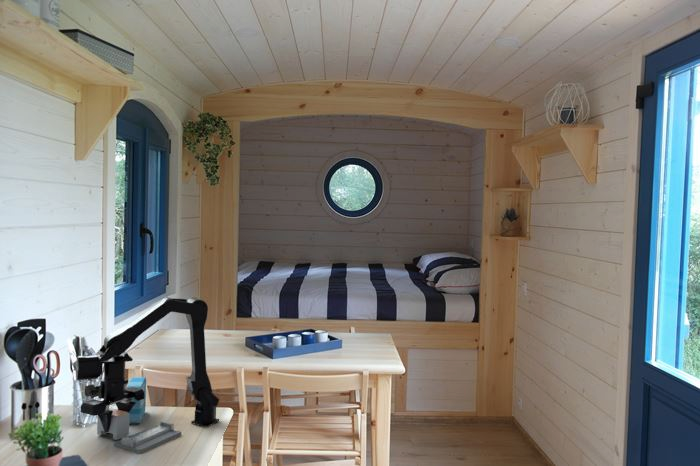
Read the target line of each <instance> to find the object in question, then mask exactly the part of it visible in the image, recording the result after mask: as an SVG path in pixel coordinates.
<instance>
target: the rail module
mask: <svg viewBox="0 0 700 466" xmlns="http://www.w3.org/2000/svg"><path fill="white" fill-rule="evenodd" d="M109 410H111V411H113V413H112V418H111V423H110V428H109V431H108V432H105V431H104V429H103V426H102V423H101V421H100V418H99V417H98V416H97V422H96V423H97V424H96V425H97V426H96V435H97V436H103V435H105V434H108V433H109V434H112V439H113V440H115V441H119V440H121V439H122V437H124V436H126V437H129V434H130V424H129V415H130V413H128V412H125V411H121V410H118V408H114V407H109Z"/></svg>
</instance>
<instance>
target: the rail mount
mask: <svg viewBox="0 0 700 466" xmlns="http://www.w3.org/2000/svg"><path fill="white" fill-rule="evenodd" d="M159 424H160V425H154V426H152V427H148V428H147V429H144V430H142V431H140V432H137V433H134V434H132V435H130V436H129V435H128V436H124V437H122V438H120V439H118V440H116V441H114V442H113V447H116V448H119V449H123V450H126V451H128V452H132V453H136V454H138V455H140V454H143V453H144V452H147V451H149V450H151V449H154V448H156V447H158V446H160V445H162V444H165V443H167V442H170V441H171V440H173V439H176V438H178V437H181V435H182V431H179V430H176V429H175V424H174V423H173V422H170V421H169V422H168V421H166V420H165V421H164V420H161V421H160V423H159Z"/></svg>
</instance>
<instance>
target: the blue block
mask: <svg viewBox="0 0 700 466" xmlns="http://www.w3.org/2000/svg"><path fill="white" fill-rule="evenodd" d="M130 387H135V388H139V389H143V391H144V392H145V398H144V399H142V400H139V401H136V400H135V397H133V398H132V399H133V402H136V404H135V405H134V406H133V407H132V409H131V410H130V412H129V413H130V415H129V425H130V424H131V425H133V424H141V422H142V420H143V418H144V416H145V413H146V403H147V402H146V401H147V400H146V395H147V393H146V392H147V377H146V376H145V377H144V376H142V377H141V376H140V377H139V376H138V377H134V376H132V377H131V378H130V379H129V380H128V383H127V384H126V385H125V389H127V388H130Z"/></svg>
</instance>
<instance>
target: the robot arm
mask: <svg viewBox="0 0 700 466" xmlns="http://www.w3.org/2000/svg"><path fill="white" fill-rule="evenodd" d="M208 307H209V306H208V304H207V303H206V301H205V300H202V299H200V298H198V297H196V296H195V297H190V298H188V299H186V298H174V297H173V298H172V297H164V298H163V299H162V300H161V301H160V302H158V303H157V304H156V305H154V306H153V307H151V308H150V309H149V310H147V311H146V312H144V313H143V314H142V315H141V316H139V317H138V318H136V319H135V320H134V321H133V322H131V323H129V324H128V325H126V326H124V327H120V328H118V329H116V330H114V331H112V332H111V333H108V334H107V335H106V336H105V337H104V340H103V344H102V346H101V347H100V348H99V350H98V351H97V352H96V355H78V356H77V358H76V359H77V360H76V365H75V380H76V381H78V382H79V381H88V380H98V379H99V377H101V376H102V375H103V379H101V380H100V382H99V385H97V386H95V385H94V384H93V383H92V384H88V385H85V386H84V396H85V397H86V398H89V397H90V399H88V400H86V401H83V402H82V403H81V404H80V413H82V414H85V415H90V416H97V418H98V417H99V418H100V421H101V423H102V426H103V429H104V431H105V432H108V431H109V428H110V423H111V418H112V413H113V411H111V410H109V408H110V406H111V405H116V407H117V408H116V409H118V410H121V411H125V412H128V413H129V412H130V410H131V409H132V407H133V406H134V405H135V404H136V402H133V399H132V398H133V397H135V400H136V401H139V400H142V399H144V398H145V392H144V391H143V389H139V388H135V387H130V388H127V389H126V385H127V384H128V383H129V379H126V363H127V362H133V360H134V359H133V357H132V356H131V355H129V354H128V352H127V350H128V349H129V348H130V347H132V345H133V344H134V342H135V341H136V339H137V338H139V336H141V335H142V334H143V333H145V332H146V331H147V330H149V329H150V328H151V327H152V326H154V325H155V324H157V323H158V322H159V321H161V320H162V319H163V318H165V317H166V316H167V315H169V314H170V313H178V314H185V316H186V317H185V318H186V320H187V323H188V325H189V326H188V327H189V333H190V334H189V337H190V354H191V356H190V357H191V373H190V376H185V379H186V390H187V391H188V393H189V394H190V395H191V396H192V397H193V399H194V400H195V401H196V404H195V407H194V408H195V410H194V420H191V422H190V423H191V424H193V423H195V424H194V425H197V424H199V425H198V426H201V425H203V426H202V427H205V426H208V427H209V425H210V426H212V425H214V424H216V423H218V422H217V421H219V420H220V419H219V418H217V407H218V405H219V402H220V399H219V398H218V397H217V396H216V395H215V394H214V392H213V389H212V388H213V387H212V384H211V381H210V377H209V375H208V373H207V359H206V358H207V357H206V340H205V325H206V322H207V319H208V314H209V313H208V311H209V308H208ZM103 365H104V366H103ZM97 397H98V399H99V400H97V399H94V398H97ZM102 399H103V400H102ZM220 421H221V420H220ZM220 421H219V422H220ZM215 422H216V423H215ZM213 423H214V424H213ZM211 424H212V425H211Z"/></svg>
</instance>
